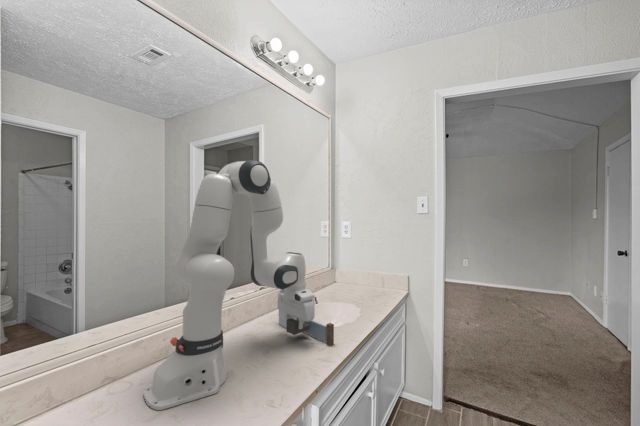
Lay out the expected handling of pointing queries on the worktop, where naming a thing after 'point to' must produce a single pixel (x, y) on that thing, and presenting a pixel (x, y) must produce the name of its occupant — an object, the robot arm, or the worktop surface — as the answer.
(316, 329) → the door
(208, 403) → the worktop surface
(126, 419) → the worktop surface
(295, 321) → the doorstop wedge
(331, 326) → the door frame
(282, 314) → the skincare box
